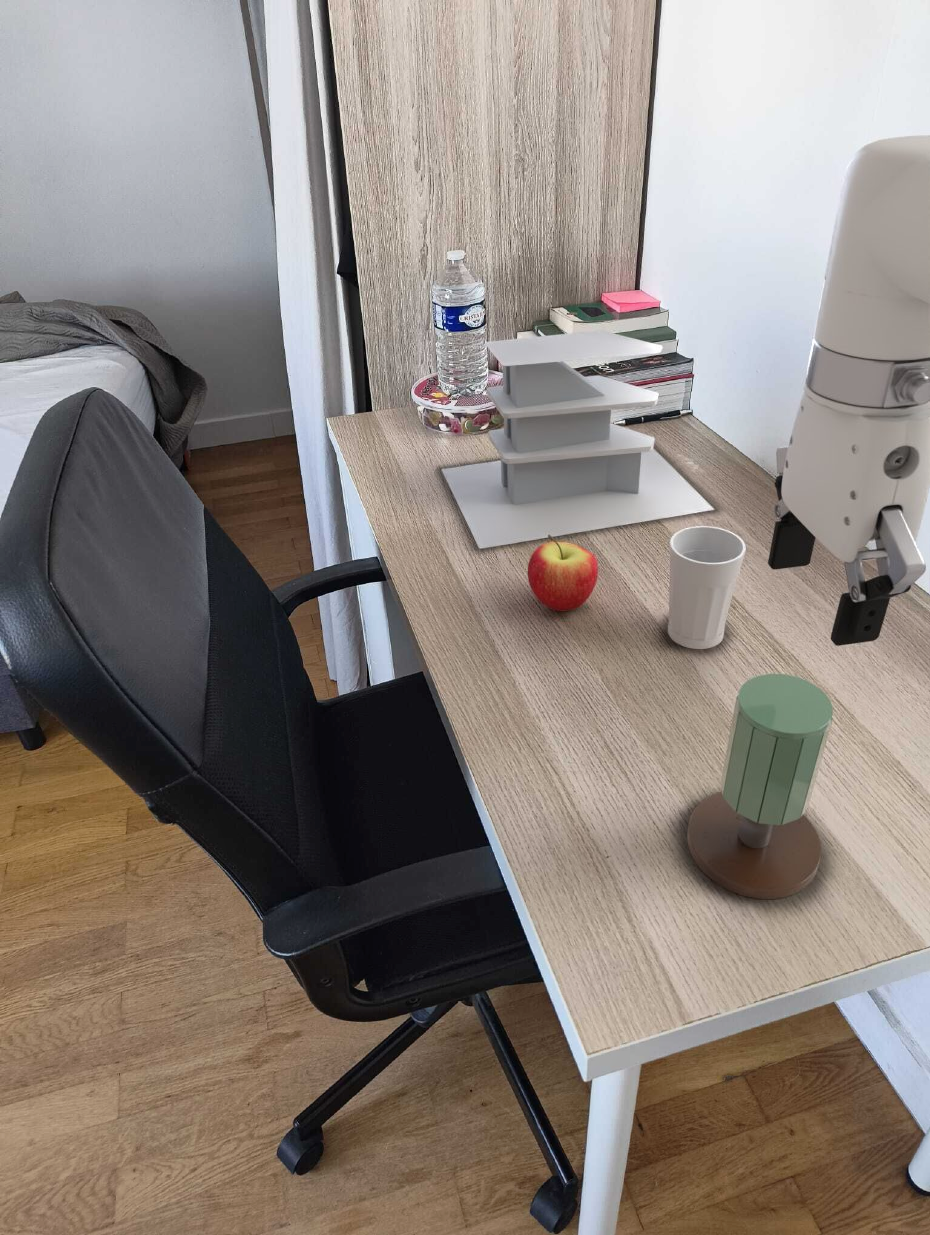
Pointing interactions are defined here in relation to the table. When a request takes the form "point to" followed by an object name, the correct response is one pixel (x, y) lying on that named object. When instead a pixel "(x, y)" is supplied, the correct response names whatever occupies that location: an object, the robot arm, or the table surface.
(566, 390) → the file organizer
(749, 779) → the green cup
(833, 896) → the table surface
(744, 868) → the towel stand
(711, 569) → the cup
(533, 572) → the apple
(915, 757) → the table surface
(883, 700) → the table surface
